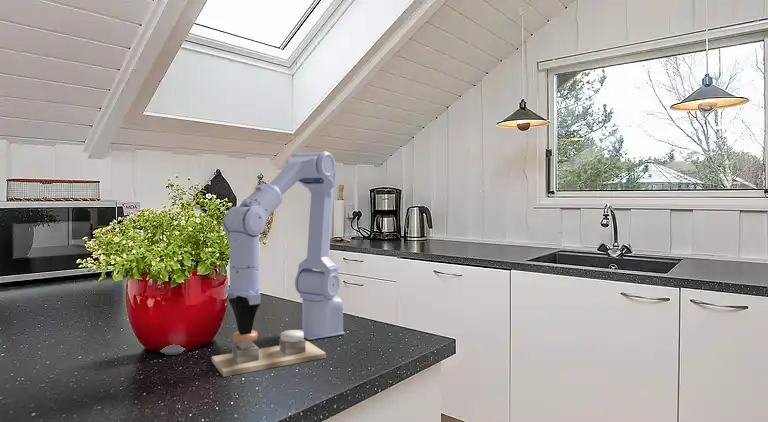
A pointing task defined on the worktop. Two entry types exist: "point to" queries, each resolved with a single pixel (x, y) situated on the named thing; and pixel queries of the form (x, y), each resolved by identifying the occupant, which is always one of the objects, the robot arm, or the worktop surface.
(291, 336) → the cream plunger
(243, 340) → the peach round domed part
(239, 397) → the worktop surface
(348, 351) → the worktop surface
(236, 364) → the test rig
